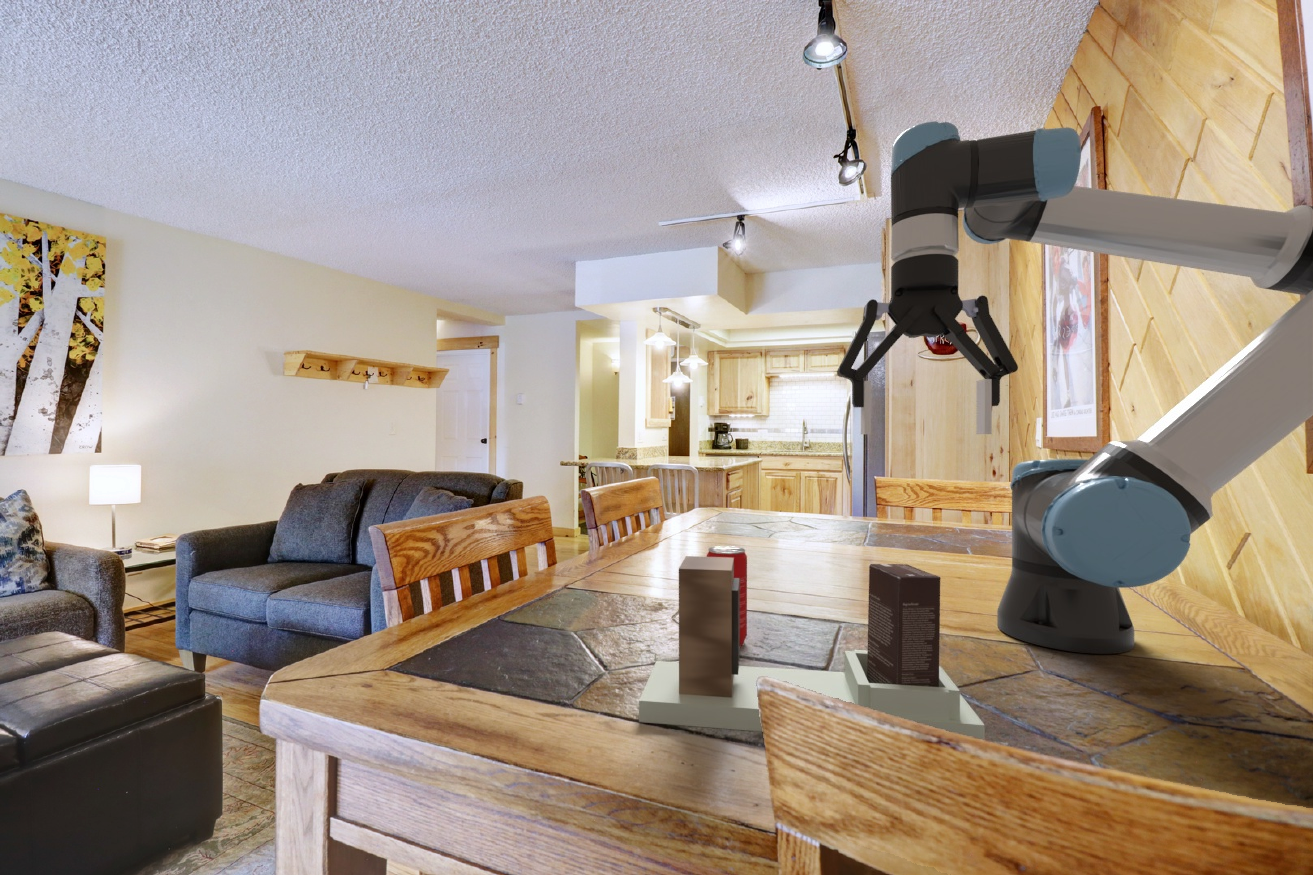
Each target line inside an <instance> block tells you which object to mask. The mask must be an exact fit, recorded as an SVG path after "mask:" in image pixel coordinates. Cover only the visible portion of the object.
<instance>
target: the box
mask: <svg viewBox="0 0 1313 875" xmlns="http://www.w3.org/2000/svg"><path fill="white" fill-rule="evenodd" d="M868 567H869V568H868V569H869V570H868V611H867V612H868V613H867V614H868V616H867V618H868V619H867V621H868V622H867V650H868V657H867V659H868V660H867V680H868V682H869V683H879V684H895V685H911V686H927V687H939V665H940V631H941V630H940V628H941V627H940V626H941V580H942V579H941V578H942V577H941V576H938V575H936V574H932V573H930V572H927V571H924V570H922V569H920V568H917V567H914V566H911V565H909V564H906V563H905V564H904V563H899V564H898V563H871V564H870V565H869V566H868Z"/></svg>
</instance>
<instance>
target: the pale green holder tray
mask: <svg viewBox="0 0 1313 875" xmlns="http://www.w3.org/2000/svg"><path fill="white" fill-rule="evenodd" d="M843 657H844V671H834V670H833V671H830V670H814V669H813V670H812V669H799V668H798V669H797V668H783V667H782V668H780V667H779V668H778V667H767V666H766V667H761V666H749V665H747V666H746V665H739V671H738V675H734V678H733V689H732V698H729V697H715V696H700V695H685V694H679V661H678V662H677V661H663V660H656V662H655V664H654V665H653V668H652V671H651V673H650V674H649V677H648V680H647V682H646V684H645V687H644V688H643V691H642V693H641V695H640V697H639V700H638V722H639V723H647V724H648V723H649V724H660V725H661V724H662V725H673V726H674V725H676V726H687V727H700V728H712V729H713V728H714V729H715V728H716V729H728V730H737V731H739V730H740V731H750V732H751V731H752V732H763V731H762V726H761V723H760V717H759V708H758V697H757V686H756V680H757V678H758V677H759V676H768V677H771V678H775V679H779V680H781V681H787V682H789V683H792V684H793V685H799V686H800V687H804V688H806V689H810V690H813V691H816V692H817V693H822V694H824V695H826V696H830V697H833V698H839V699H841V700H843V701H846V702H852V703H854V704H856V705H860V706H864V707H869V708H871V709H873V710H879V711H882V712H885V713H886V714H890V715H894V716H899V717H901V718H904V719H909V720H913V721H915V722H917V723H923V724H925V725H929V726H933V727H935V728H941V729H945V730H946V731H949V732H957V733H959V734H963V735H967V736H973V737H976V738H980V739H983V740H985V738H986V736H985V734H986V732H985V730H986V726H985V724H984V722H983V721H982V720H981V718H980V717H979V715H978V714H977V713H976V712H975V711H974V709H973V708H972V706H970V704H969V703H968V702H967V701H966V699H965V698H964V696H963V695H962V694H961V690H960V689H959V687H958V686H957V685H956V684H955V683H954V681H953V680H952V679H951V678H950V676H949V675H948V674H947V672H945V670H944V668H943V667H942V666H941V665H940V664H939V687H927V686H911V685H895V684H879V683H869V682H868V680H867V660H868V659H867V657H868V649H867V650H865V649H853V650H844V656H843ZM985 741H986V740H985Z"/></svg>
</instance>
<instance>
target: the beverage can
mask: <svg viewBox="0 0 1313 875" xmlns="http://www.w3.org/2000/svg"><path fill="white" fill-rule="evenodd" d="M705 557H730V558H734V578H740V647H742V646H743V645H744V644H745V640H746V638H747V636H748V556H747V554H746V549H745V548H743V547H740V546H734V545H733V546H732V545H731V546H730V545H720V546H719V545H717V546H712V547H709V548H708V552H707V553H706V555H705Z"/></svg>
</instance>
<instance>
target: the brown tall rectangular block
mask: <svg viewBox="0 0 1313 875" xmlns="http://www.w3.org/2000/svg"><path fill="white" fill-rule="evenodd" d="M740 649H741V648H740V578H734V558H730V557H706V556H693V555H691V556H689V555H687V556H685V557H684V559H683V560H682V561H681V564H680V566H679V567H678V662H679V694H685V695H700V696H715V697H729V698H732V689H733V678H734V675H738V671H739V666H740V655H741V653H740V651H741V650H740Z"/></svg>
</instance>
